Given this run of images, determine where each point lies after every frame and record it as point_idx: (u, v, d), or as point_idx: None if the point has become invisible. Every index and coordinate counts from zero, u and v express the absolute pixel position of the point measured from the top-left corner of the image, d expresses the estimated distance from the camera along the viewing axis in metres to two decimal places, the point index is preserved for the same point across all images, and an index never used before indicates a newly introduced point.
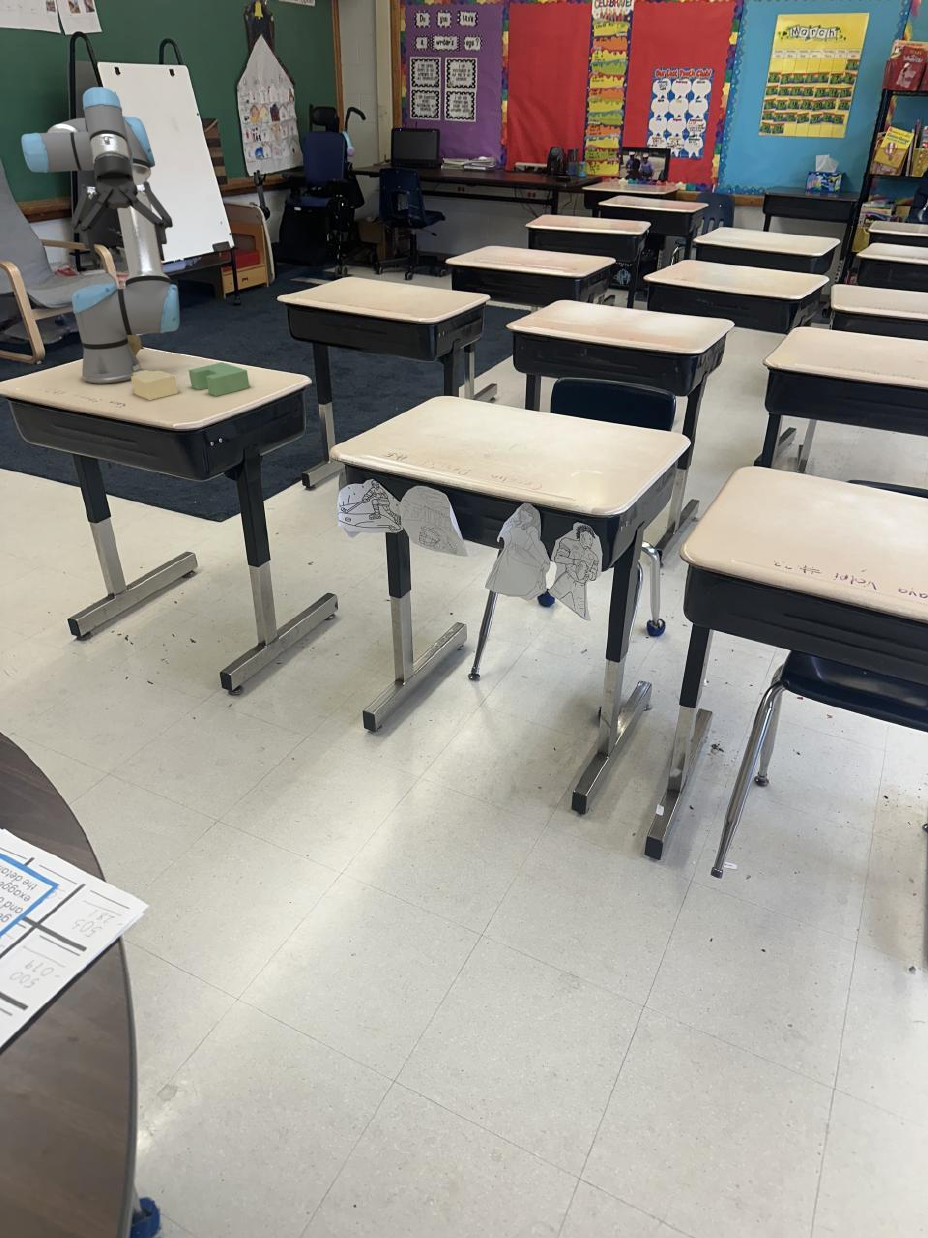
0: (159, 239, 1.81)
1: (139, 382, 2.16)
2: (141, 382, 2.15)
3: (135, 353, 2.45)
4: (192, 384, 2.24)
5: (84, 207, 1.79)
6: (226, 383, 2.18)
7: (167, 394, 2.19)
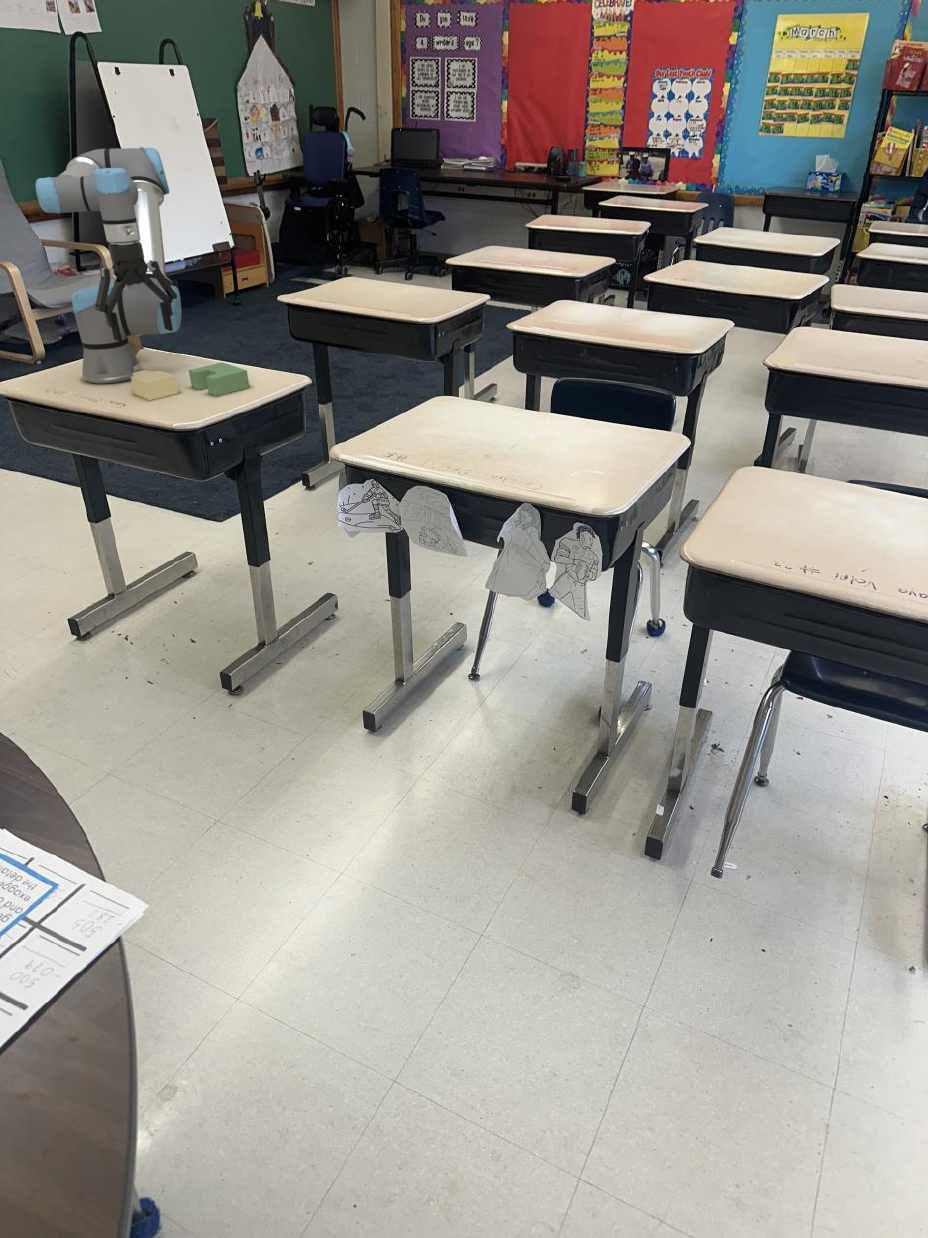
0: (169, 316, 2.14)
1: (139, 382, 2.16)
2: (141, 382, 2.15)
3: (135, 353, 2.45)
4: (192, 384, 2.24)
5: None
6: (226, 383, 2.18)
7: (167, 394, 2.19)
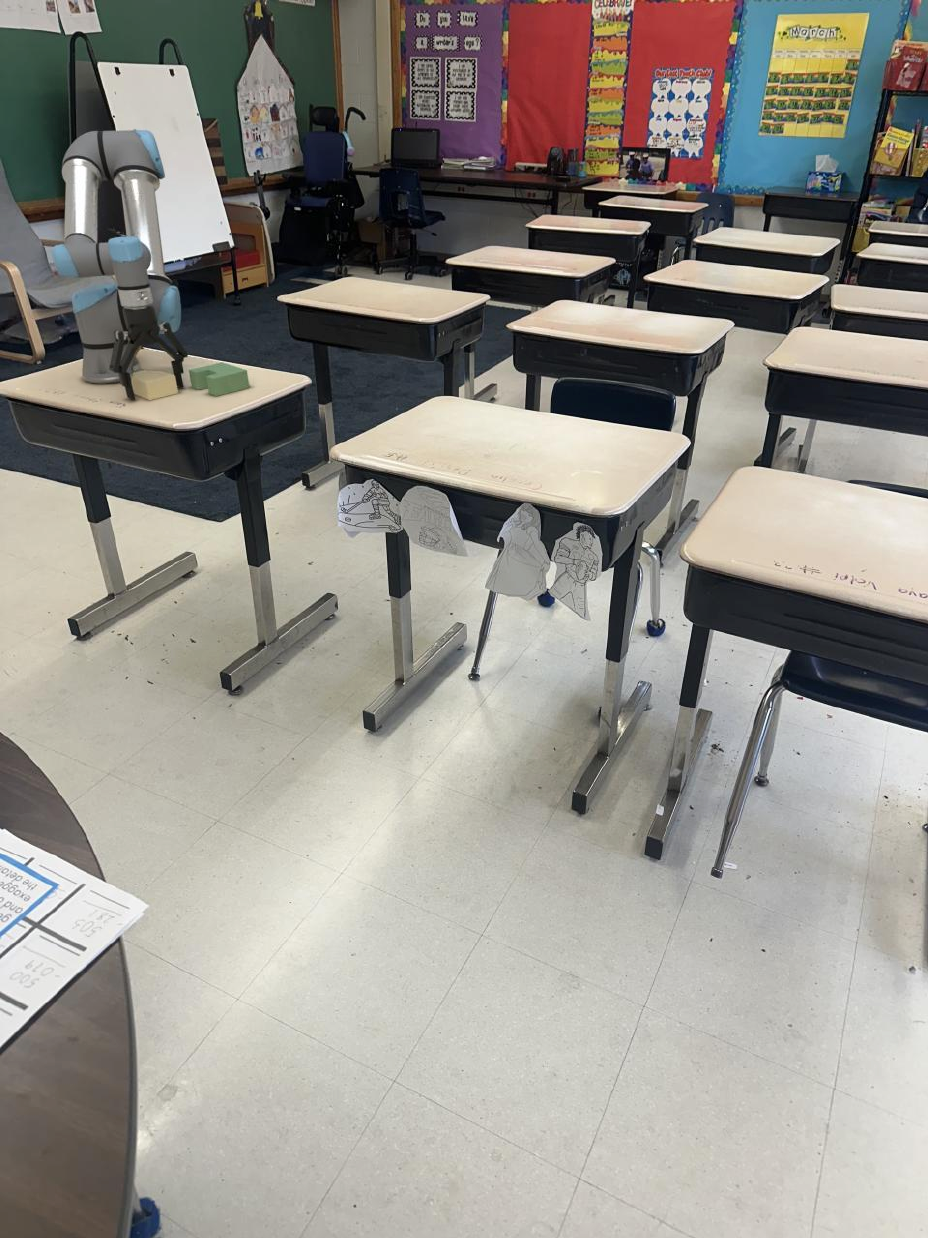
0: (180, 374, 2.22)
1: (139, 382, 2.16)
2: (141, 382, 2.15)
3: (135, 353, 2.45)
4: (192, 384, 2.24)
5: None
6: (226, 383, 2.18)
7: (167, 394, 2.19)
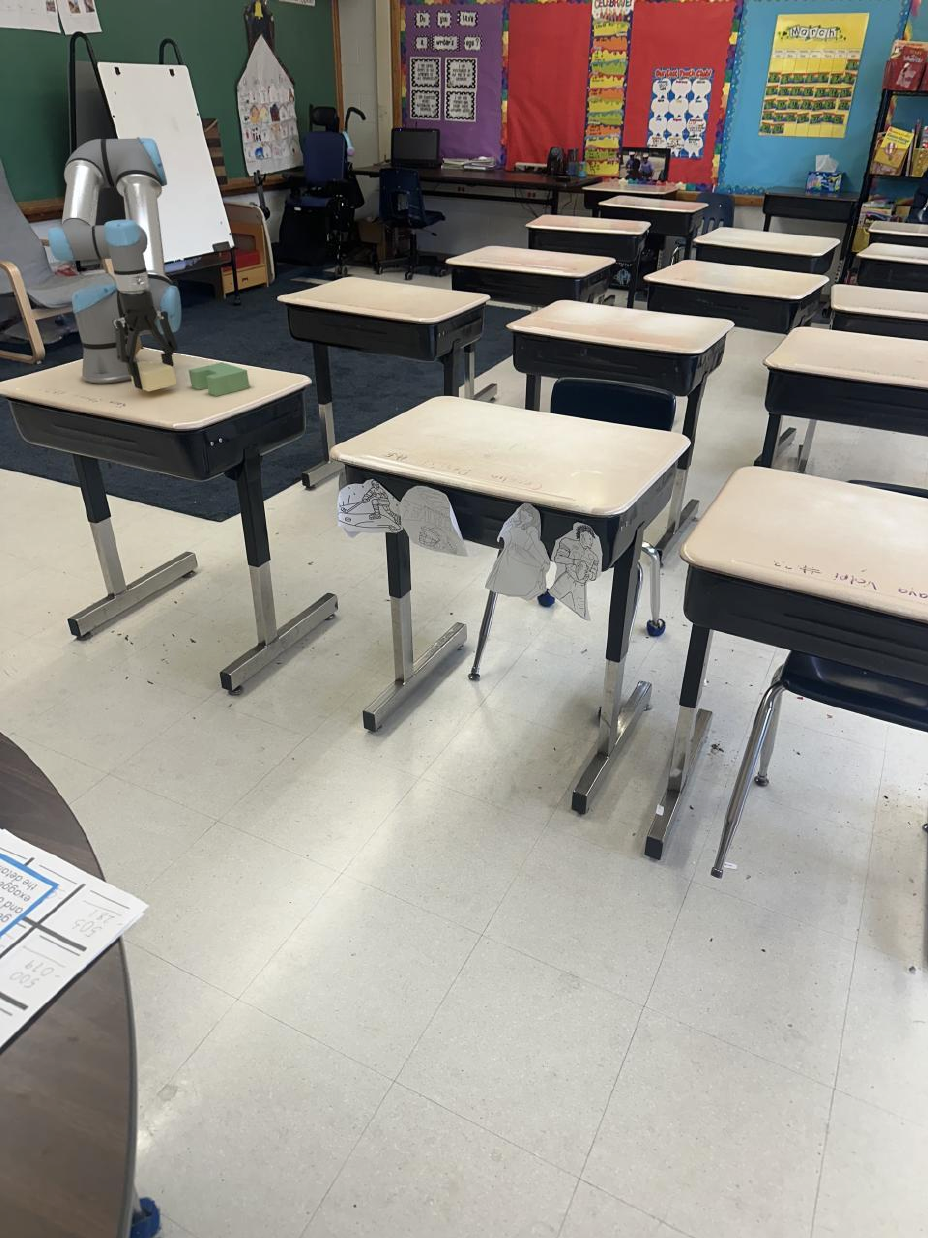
0: None
1: None
2: (139, 373, 2.14)
3: (135, 353, 2.45)
4: (192, 384, 2.24)
5: None
6: (226, 383, 2.18)
7: (165, 385, 2.18)
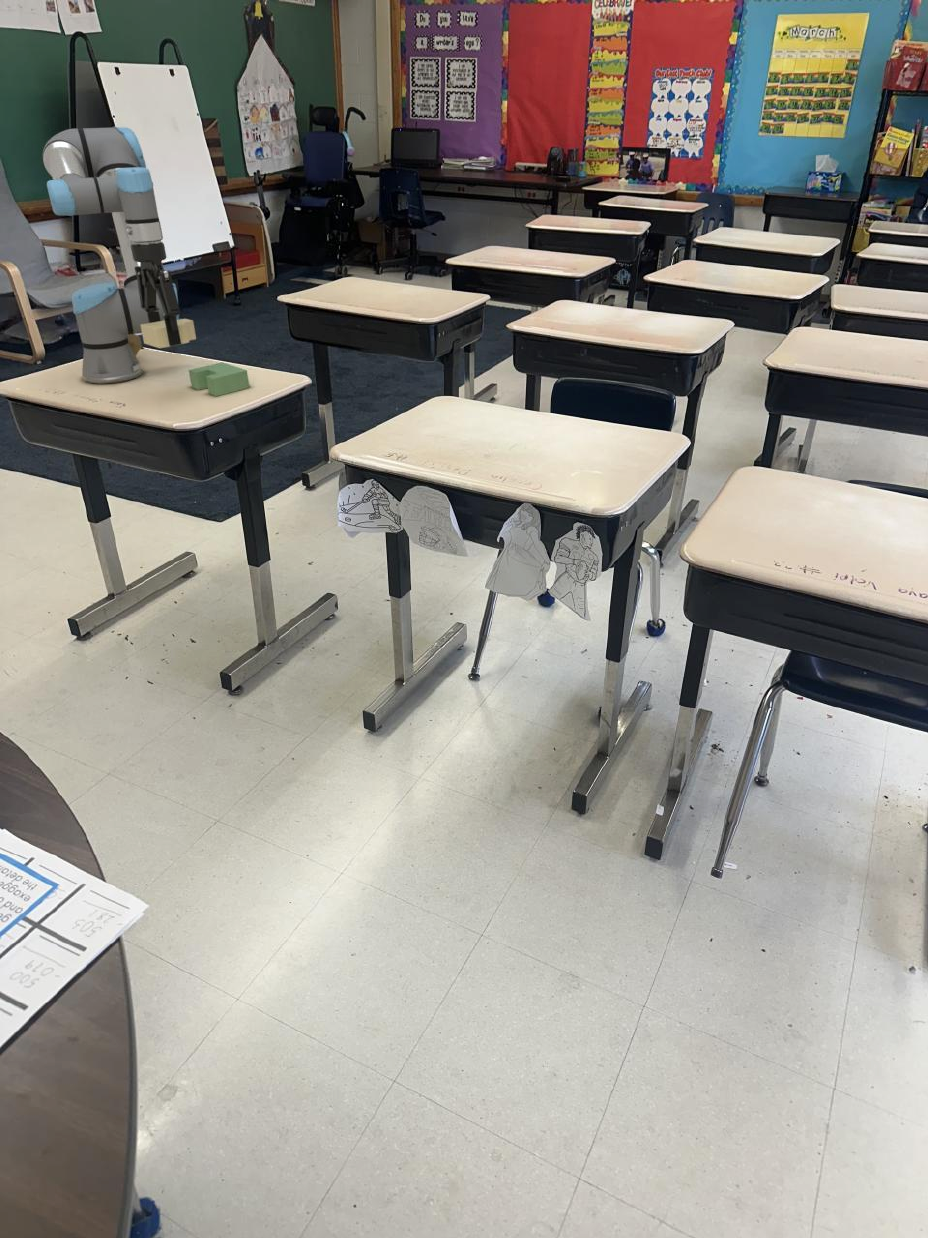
0: (167, 331, 2.06)
1: None
2: None
3: (135, 353, 2.45)
4: (192, 384, 2.24)
5: (143, 287, 2.09)
6: (226, 383, 2.18)
7: (153, 345, 2.09)
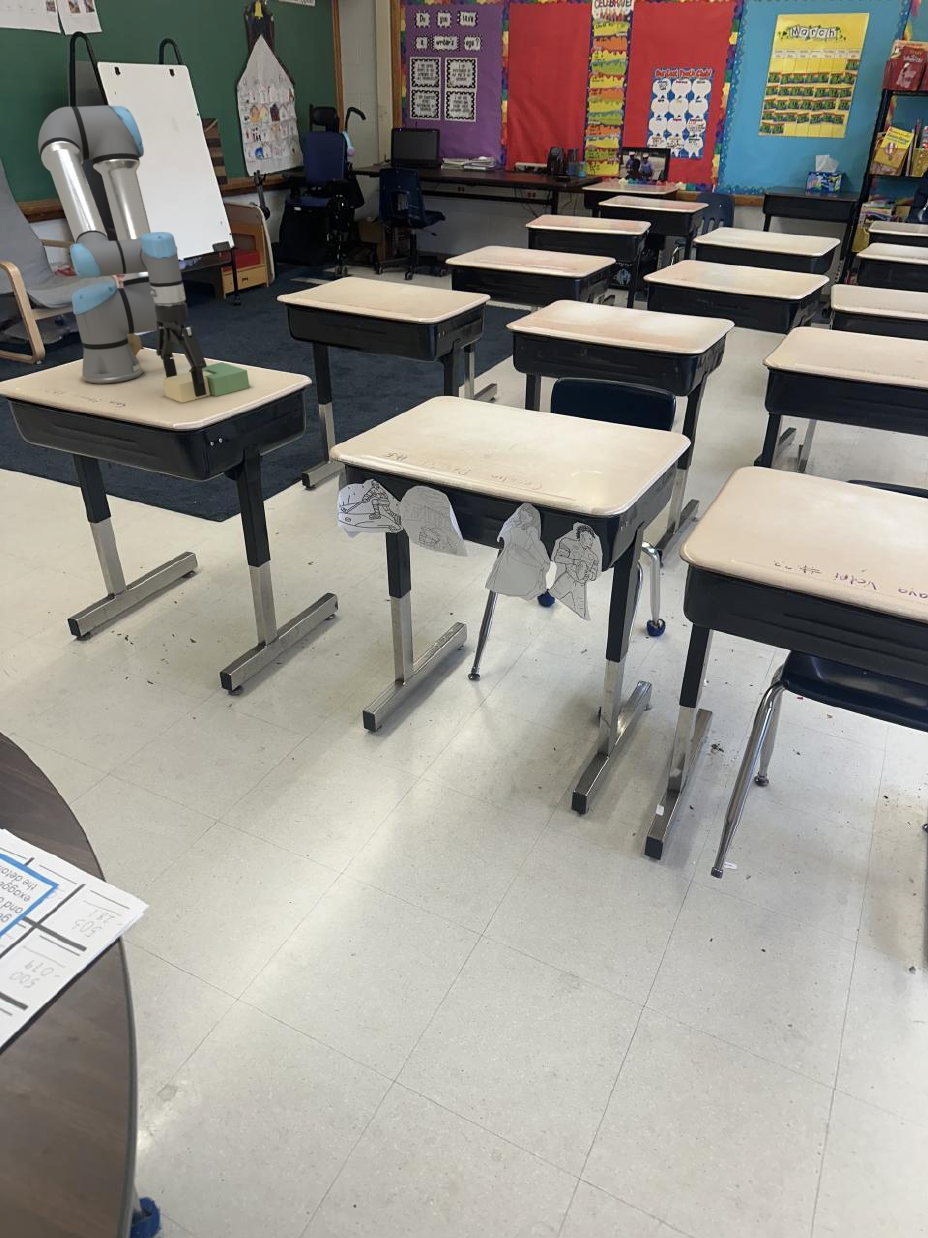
0: (193, 383, 2.11)
1: None
2: None
3: (135, 353, 2.45)
4: None
5: (162, 338, 2.15)
6: (226, 383, 2.18)
7: (175, 399, 2.15)
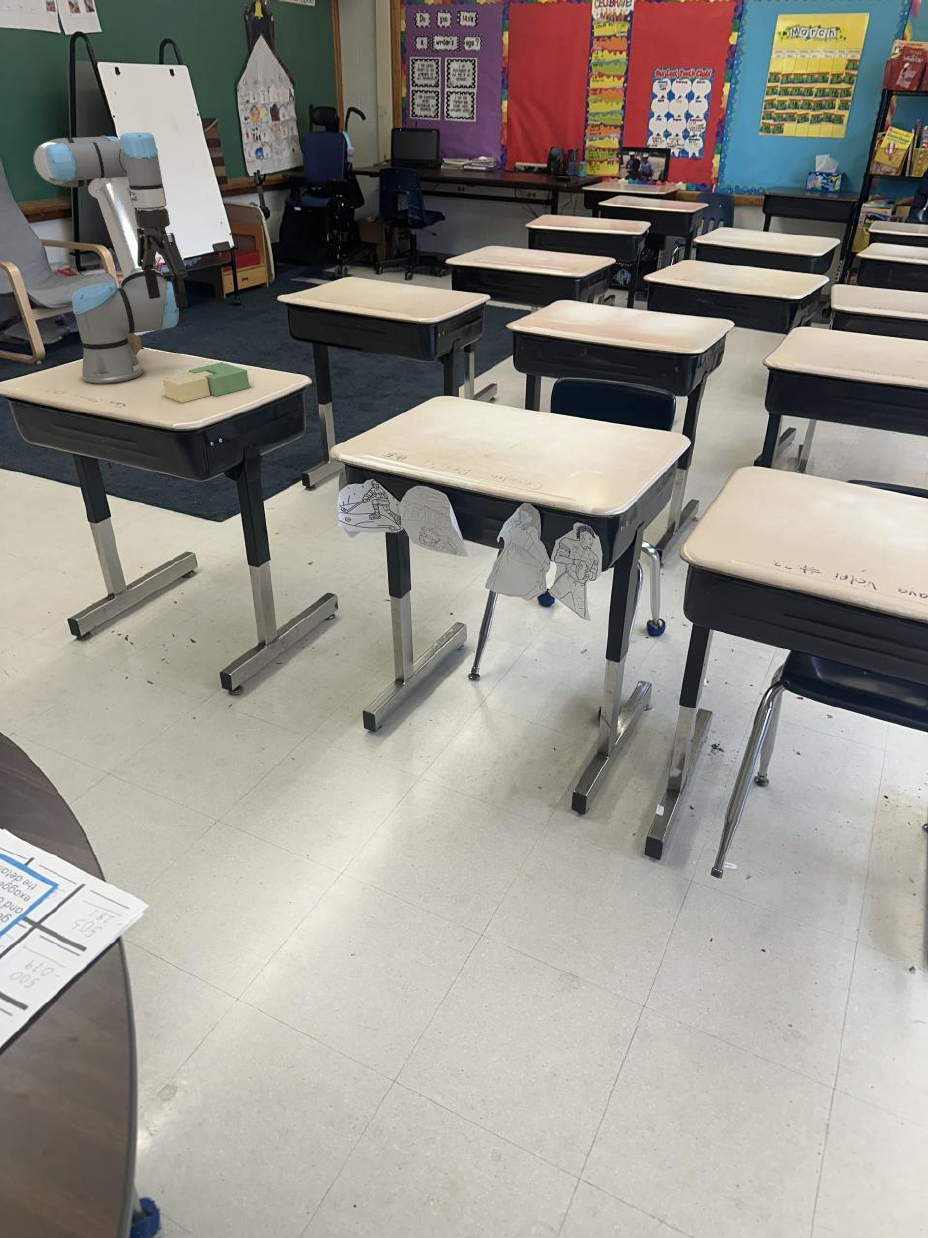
0: (174, 293, 2.06)
1: None
2: None
3: (135, 353, 2.45)
4: None
5: (143, 248, 2.10)
6: (226, 383, 2.18)
7: (175, 399, 2.15)
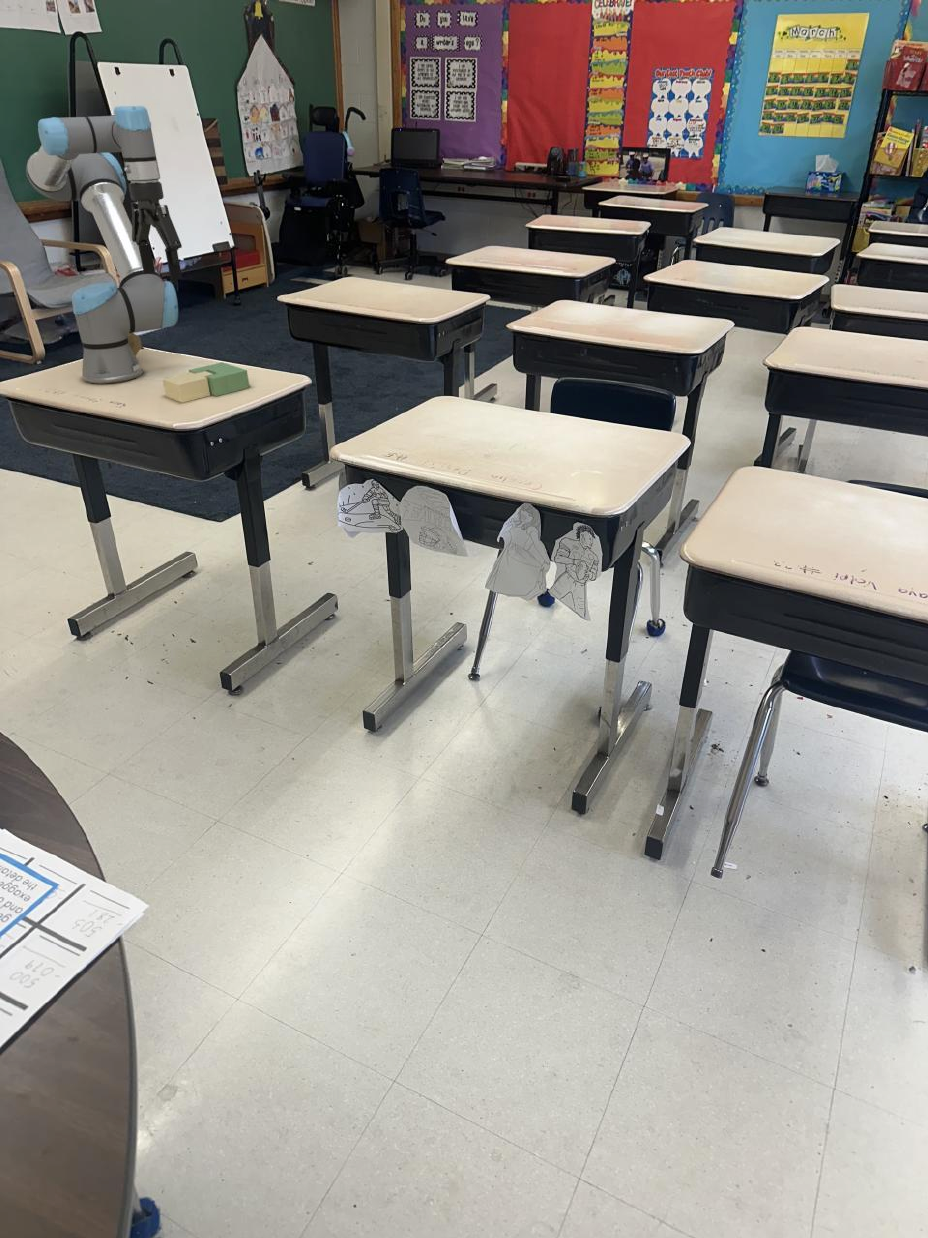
0: (169, 265, 2.08)
1: None
2: None
3: (135, 353, 2.45)
4: None
5: (137, 222, 2.13)
6: (226, 383, 2.18)
7: (175, 399, 2.15)
